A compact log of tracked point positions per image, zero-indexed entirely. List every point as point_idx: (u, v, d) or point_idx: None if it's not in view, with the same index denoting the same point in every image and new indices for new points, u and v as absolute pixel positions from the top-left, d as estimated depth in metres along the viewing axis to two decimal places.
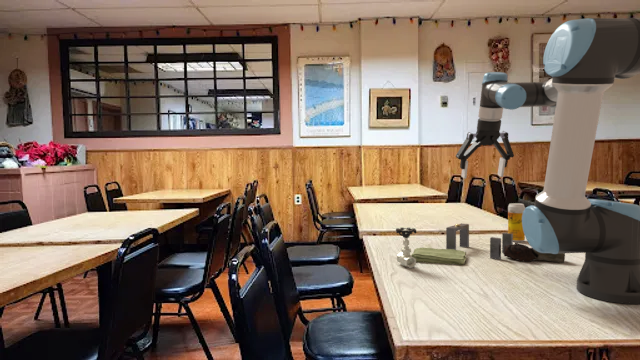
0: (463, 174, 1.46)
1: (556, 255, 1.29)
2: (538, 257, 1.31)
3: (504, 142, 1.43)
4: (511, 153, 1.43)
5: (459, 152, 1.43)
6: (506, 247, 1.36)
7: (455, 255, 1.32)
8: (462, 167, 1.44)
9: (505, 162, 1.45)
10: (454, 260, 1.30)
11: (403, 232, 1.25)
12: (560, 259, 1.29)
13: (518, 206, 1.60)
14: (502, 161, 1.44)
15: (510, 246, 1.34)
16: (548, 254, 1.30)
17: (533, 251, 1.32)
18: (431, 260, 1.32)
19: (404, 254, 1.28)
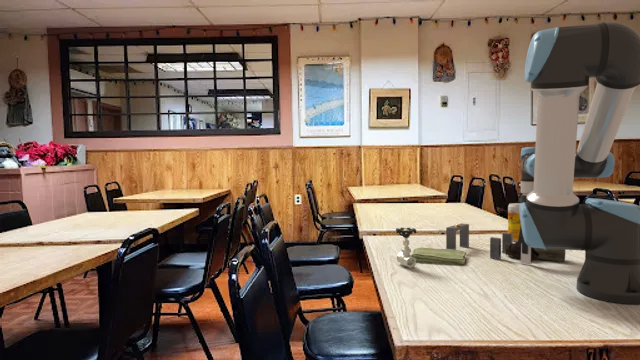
0: (526, 260, 1.28)
1: (556, 254, 1.30)
2: (539, 256, 1.33)
3: None
4: None
5: (523, 235, 1.26)
6: (507, 246, 1.38)
7: (455, 255, 1.32)
8: (526, 252, 1.27)
9: None
10: (454, 260, 1.30)
11: (403, 232, 1.25)
12: (560, 258, 1.30)
13: (518, 206, 1.60)
14: None
15: (511, 245, 1.36)
16: (548, 253, 1.31)
17: (534, 250, 1.34)
18: (431, 260, 1.32)
19: (404, 254, 1.28)
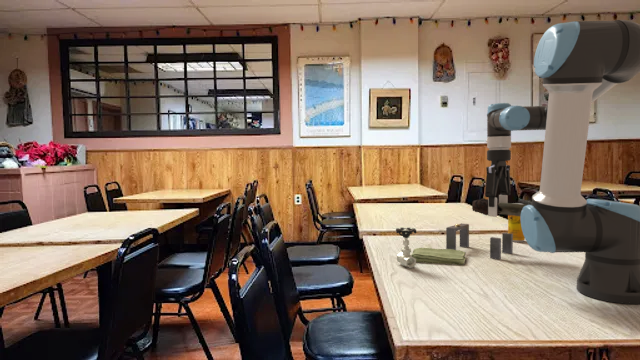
0: (493, 213, 1.37)
1: (518, 209, 1.36)
2: (502, 211, 1.39)
3: None
4: (509, 188, 1.44)
5: (488, 189, 1.35)
6: (474, 202, 1.45)
7: (455, 255, 1.32)
8: (493, 205, 1.36)
9: None
10: (454, 260, 1.30)
11: (403, 232, 1.25)
12: None
13: None
14: (504, 197, 1.43)
15: (477, 201, 1.43)
16: (511, 208, 1.37)
17: (498, 206, 1.40)
18: (431, 260, 1.32)
19: (404, 254, 1.28)
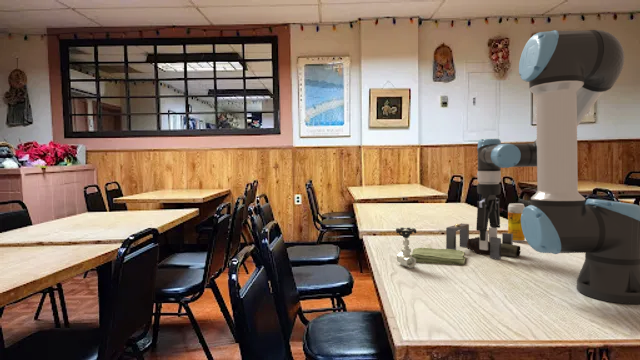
0: (484, 246, 1.40)
1: (509, 250, 1.37)
2: None
3: None
4: (499, 220, 1.46)
5: (479, 224, 1.38)
6: (468, 240, 1.48)
7: (455, 255, 1.32)
8: (484, 238, 1.39)
9: None
10: (454, 260, 1.30)
11: (403, 232, 1.25)
12: (513, 254, 1.37)
13: (518, 206, 1.60)
14: (494, 230, 1.45)
15: (471, 239, 1.47)
16: (502, 249, 1.39)
17: None
18: (431, 260, 1.32)
19: (404, 254, 1.28)
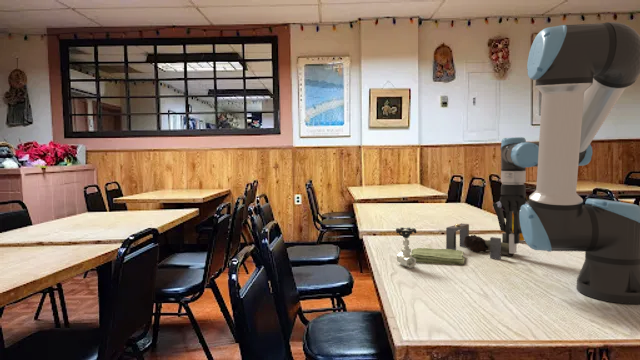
0: (515, 249, 1.37)
1: (502, 248, 1.39)
2: (488, 249, 1.43)
3: (501, 212, 1.40)
4: None
5: None
6: (465, 238, 1.51)
7: (454, 255, 1.33)
8: None
9: None
10: (454, 260, 1.30)
11: (403, 232, 1.25)
12: (505, 252, 1.38)
13: None
14: None
15: (467, 237, 1.49)
16: None
17: (485, 243, 1.45)
18: (431, 260, 1.32)
19: (404, 254, 1.28)
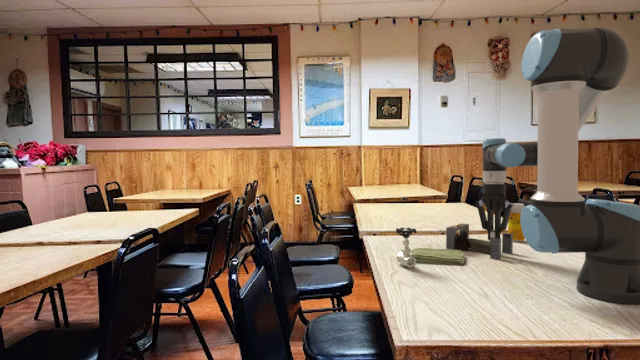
0: None
1: (483, 246, 1.43)
2: (471, 247, 1.47)
3: (483, 211, 1.44)
4: None
5: (505, 225, 1.39)
6: None
7: (454, 255, 1.33)
8: None
9: None
10: (454, 260, 1.30)
11: (403, 232, 1.25)
12: (487, 250, 1.43)
13: (518, 206, 1.60)
14: None
15: None
16: (478, 244, 1.45)
17: (467, 241, 1.49)
18: (431, 260, 1.32)
19: (404, 254, 1.28)
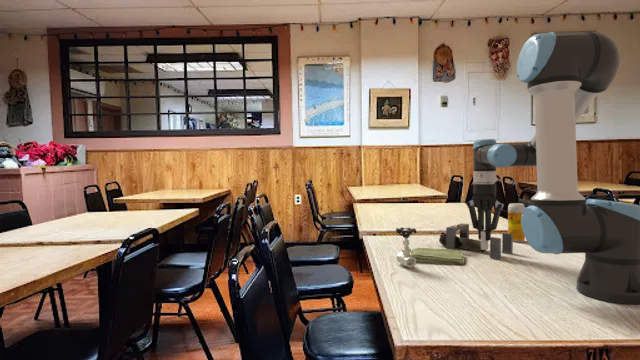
0: (487, 245, 1.44)
1: (475, 245, 1.46)
2: (462, 246, 1.50)
3: (474, 211, 1.46)
4: None
5: (496, 224, 1.41)
6: (440, 236, 1.57)
7: (454, 255, 1.33)
8: None
9: None
10: (454, 260, 1.30)
11: (403, 232, 1.25)
12: (478, 249, 1.45)
13: (518, 206, 1.60)
14: None
15: (442, 235, 1.56)
16: (469, 244, 1.48)
17: (459, 240, 1.51)
18: (431, 260, 1.32)
19: (404, 254, 1.28)
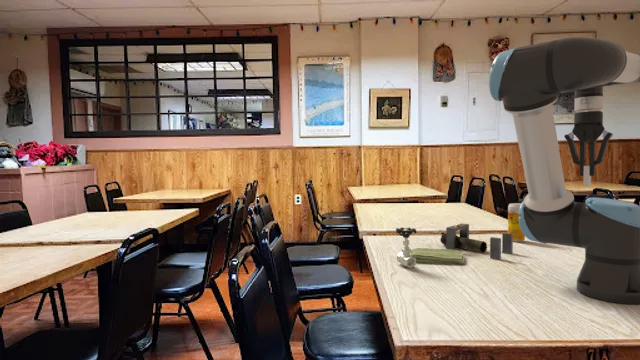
0: (590, 182, 1.28)
1: (474, 245, 1.45)
2: (462, 246, 1.50)
3: (574, 144, 1.31)
4: None
5: (602, 157, 1.25)
6: (442, 235, 1.57)
7: (454, 255, 1.33)
8: None
9: None
10: (454, 260, 1.30)
11: (403, 232, 1.25)
12: (477, 249, 1.45)
13: (518, 206, 1.60)
14: None
15: (443, 235, 1.56)
16: (469, 244, 1.47)
17: (459, 240, 1.51)
18: (431, 260, 1.32)
19: (404, 254, 1.28)
